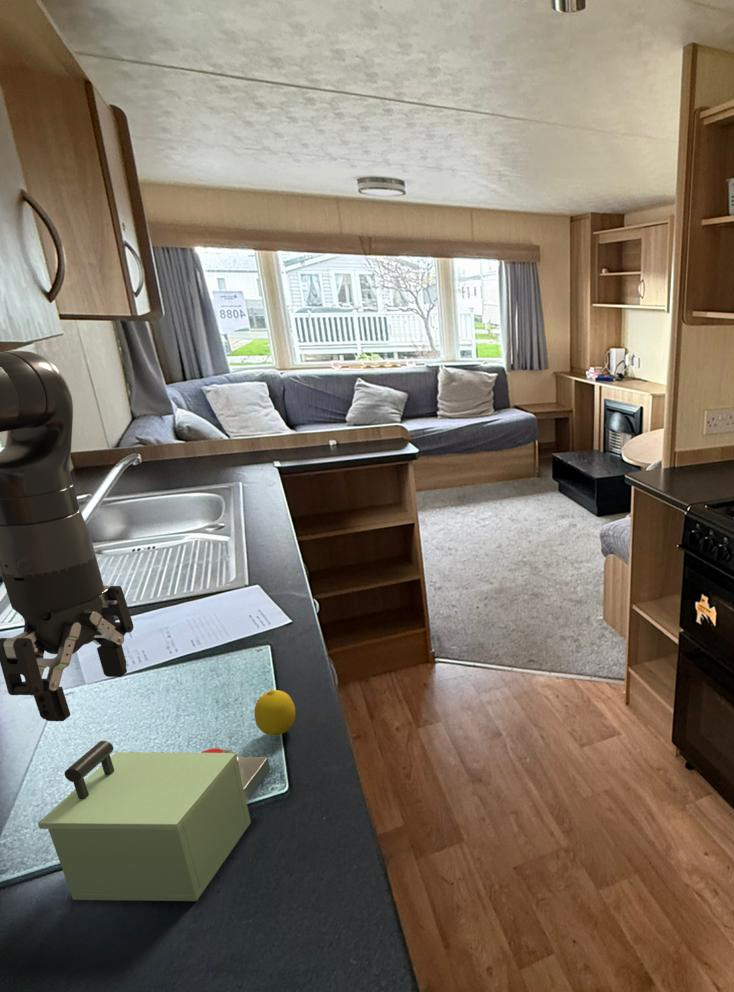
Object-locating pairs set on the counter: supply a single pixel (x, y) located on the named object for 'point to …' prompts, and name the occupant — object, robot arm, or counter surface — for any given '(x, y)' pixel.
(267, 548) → the counter surface
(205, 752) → the button
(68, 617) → the robot arm
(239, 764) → the switch block
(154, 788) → the lid
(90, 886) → the green lidded box
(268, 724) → the lemon
